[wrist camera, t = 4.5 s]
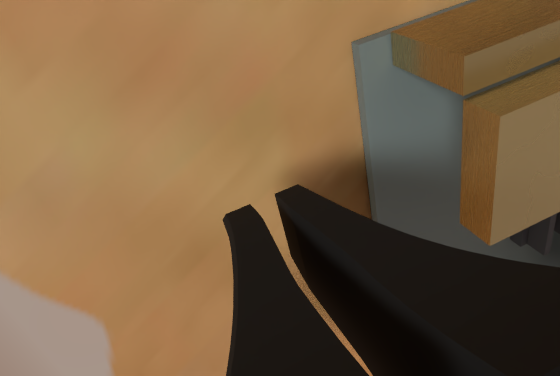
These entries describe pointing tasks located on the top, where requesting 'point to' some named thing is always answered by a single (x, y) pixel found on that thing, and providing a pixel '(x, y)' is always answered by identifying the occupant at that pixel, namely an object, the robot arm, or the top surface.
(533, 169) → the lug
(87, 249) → the top surface
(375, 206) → the clip base
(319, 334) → the robot arm
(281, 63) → the top surface
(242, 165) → the top surface
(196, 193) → the top surface
